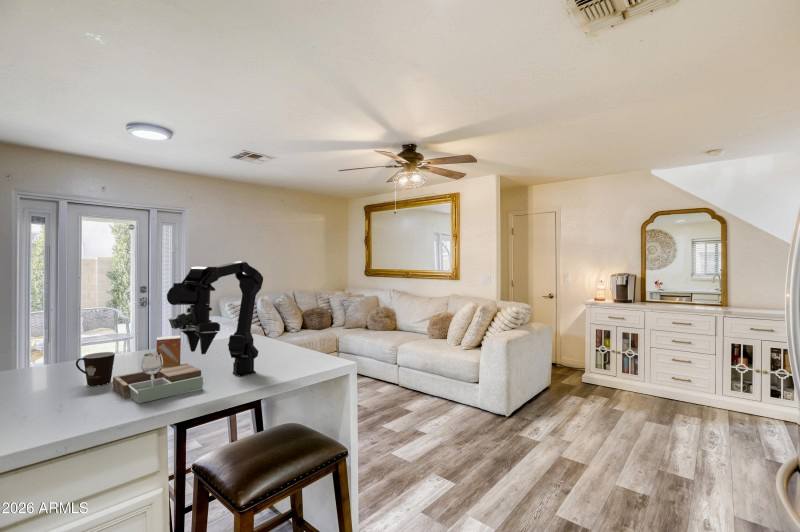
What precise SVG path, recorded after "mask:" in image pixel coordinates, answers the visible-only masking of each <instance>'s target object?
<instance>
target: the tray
mask: <svg viewBox="0 0 800 532" xmlns="http://www.w3.org/2000/svg"><path fill="white" fill-rule="evenodd" d="M203 378H204V376H203V375H201V376H200V377H196V378H191V379H186V380H182V381H177V382H170V381H168V380H167V379H165V378H159V379H154V380H153V387H151V384H152V382H151V380H149V381H144V382H139V383H134V384H129V397H130V398H131V399H132V400H134V401H135V402H136V403H138V404H143V403H147V402H151V401H155V400H159V399H160V400H161V399H163V398H167V397H173V396H176V395H181V394H184V393H185V394H186V393H190V392H194V391H198V390H203V388H204V387H203V386H204V385H203V383H204V382H203Z"/></svg>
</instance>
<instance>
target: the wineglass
mask: <svg viewBox="0 0 800 532" xmlns="http://www.w3.org/2000/svg"><path fill="white" fill-rule="evenodd" d="M141 360H142V361H141V370H142V371H143V372H144V373H146V374H151V382H152V384H151V387H153V380H154V375H153V374H156V373H158V372H159V371H161V369H162V367H163V358H162V355H161V353H156V352H149V353H145V354H143V358H142V359H141ZM142 371H141V372H142Z"/></svg>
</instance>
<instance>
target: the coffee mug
mask: <svg viewBox="0 0 800 532" xmlns="http://www.w3.org/2000/svg"><path fill="white" fill-rule="evenodd" d="M115 353H116V352H113V351H101V352H100V351H99V352H94V353H89V354H85V355H83V356H82V358H78V359H77V360H76V361H75V367H76V368H77V369H78V370H79V371H80V372H82V373H83V374H84V375H85V379H86V385H89V386H88V387H98V386H97V385H101V386H104V385H103V384H105V385H108V384H110V383H111V382H112V378H113V369H114V364H115V363H114V362H115V356H116V354H115ZM80 361H83V365H84V366H83V367H84V369H82V368H81V367H80V365H79V362H80ZM107 383H108V384H107Z"/></svg>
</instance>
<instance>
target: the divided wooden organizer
mask: <svg viewBox="0 0 800 532" xmlns="http://www.w3.org/2000/svg"><path fill="white" fill-rule="evenodd" d="M153 375H154V379H159V378H165V379H167V380H168V381H170V382H177V381H182V380H186V379H191V378H196V377H200V376H202V370H201V369H200V368H197V367H195V366H194V365H191V364H189V363H183V364H181V363H180V365H175V366H170V367H164V368H162V369H161V371H159V372H158V373H156V374H153ZM149 380H151V374H146V373H144V372H143V371H139V372H132V373H127V374H122V375H117V376H115V375H114V376H112V389H113V390H114V389H115V390H116V391H117V392H118V393H119V394H120V395H119V396H120V397H122V399H127V398H126V397H128V398H129V397H130V396H129V384H134V383H139V382H144V381H149ZM115 390H114V391H115ZM116 391H115V392H116ZM117 392H116V393H117ZM118 393H117V394H118Z"/></svg>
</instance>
